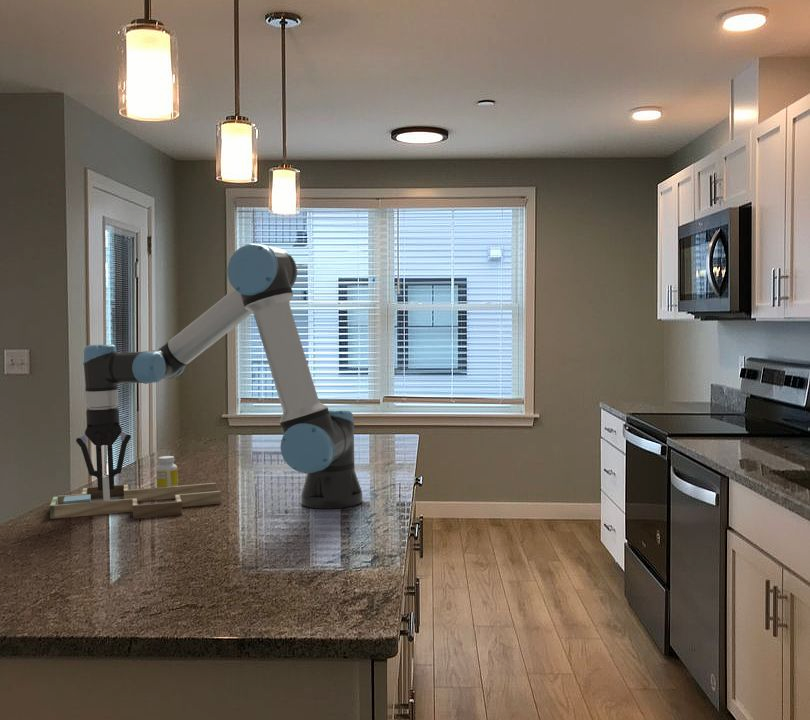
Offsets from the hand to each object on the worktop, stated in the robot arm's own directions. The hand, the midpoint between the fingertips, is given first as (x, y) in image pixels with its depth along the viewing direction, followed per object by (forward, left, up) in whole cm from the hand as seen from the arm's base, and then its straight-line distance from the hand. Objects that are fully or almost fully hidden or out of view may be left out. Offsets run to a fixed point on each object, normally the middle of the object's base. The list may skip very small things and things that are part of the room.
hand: (106, 502), depth 204 cm
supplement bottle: (+12, -15, -2) cm, 19 cm away
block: (0, +7, -2) cm, 7 cm away
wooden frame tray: (0, -7, -1) cm, 7 cm away
